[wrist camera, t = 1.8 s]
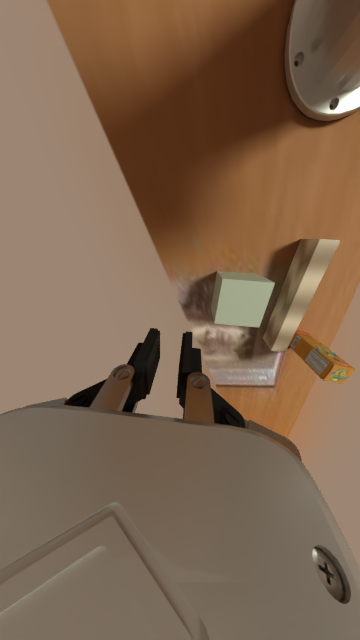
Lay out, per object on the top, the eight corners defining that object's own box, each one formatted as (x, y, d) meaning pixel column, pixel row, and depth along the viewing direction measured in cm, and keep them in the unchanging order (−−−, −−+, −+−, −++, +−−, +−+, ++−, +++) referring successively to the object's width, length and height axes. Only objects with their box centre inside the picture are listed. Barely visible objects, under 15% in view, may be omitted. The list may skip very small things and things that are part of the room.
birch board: (300, 239, 23) (319, 239, 19) (317, 240, 23) (340, 240, 19) (262, 338, 31) (271, 350, 28) (274, 339, 31) (285, 352, 27)
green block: (216, 271, 26) (222, 278, 21) (258, 274, 26) (275, 282, 20) (210, 308, 29) (214, 323, 24) (247, 311, 29) (259, 327, 24)
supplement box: (310, 331, 30) (359, 370, 21) (300, 345, 31) (342, 386, 22) (293, 328, 30) (336, 365, 21) (284, 342, 31) (320, 382, 22)
